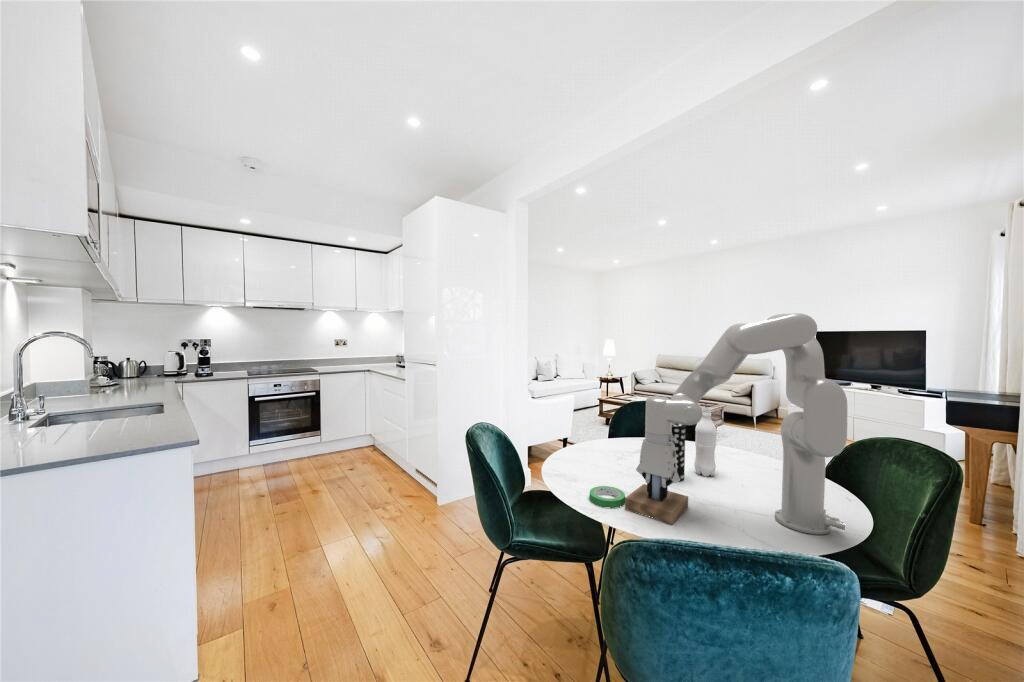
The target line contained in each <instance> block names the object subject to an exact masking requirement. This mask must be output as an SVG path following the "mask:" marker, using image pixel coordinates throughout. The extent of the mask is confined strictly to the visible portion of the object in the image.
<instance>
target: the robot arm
mask: <svg viewBox="0 0 1024 682" xmlns="http://www.w3.org/2000/svg"><path fill="white" fill-rule="evenodd" d="M817 332H818V325H817V323H816V321H815V319H814V318H812V317H811V316H810V315H808V314H805V313H800V312H799V313H797V312H795V313H781V314H780V313H779V314H774V315H771V316H770V317H768V318H767V319H766V320H760V321H757V322H751V323H748V322H747V323H735V324H733V325H730V326H729V327H728V328H727V329H726V330H725V331H724V332H723V334H722V335H721V336H720V338H719V339H718V340H717V341H716V343H715V344H714V346H713V347H712V348H711V350H710V351H709V353H708V354H707V355H706V357H705V358H704V359H703V360H702V361H701V363H700V364H699V365H698V366H697V367H696V368H695V369H694V370H693V371H692V372H691V373H689V375H688V376H686V378H685V379H684V380H683V381H682V382H681V383H680V385H679V386H678V388H676V390H675V392H674V393H673V394H672V396H671V398H669V397H666V396H660V395H659V396H658V395H657V396H656V395H651V396H648V397H647V398H646V400H645V416H644V417H645V422H644V425H645V429H644V432H645V433H644V439H643V440H642V443H641V448H640V454H639V463H638V466H637V467H636V470H635V471H636V472H637V473H638V474H640V475H641V476H642V478H643V479H644V480H645V483H646V485H647V492H648V496H649V497H651V496H652V475H656V476H660V477H661V479H662V486H661V487H660V500H662V501H663V500H664V499H665V498H666V497H667V491H669V490H668V488H669V486H670V485H672V484H676V483H680V482H679V481H680V478H679V475H678V473H677V458H676V450H675V445H674V443H671V442H673V441H675V442H676V437H674V436H673V435H672V422H673V423H678V424H683V425H685V426H694V425H697V424H698V422H699V421H700V420H701V419H702V415H703V412H702V407H701V405H700V404H699V402H700V401H701V399H703V397H704V396H705V395H706V394H707V393H708V392H709V391H711V390H712V389H714V388H715V387H718V386H720V385H723V384H724V383H727V382H728V381H729V380H730V379H731V377H732V376H733V375H734V374H735V373H736V371H737V370H738V368H739V367H740V366H741V364H742V363H743V362H744V361H745V360H746V358H747V356H749V355H759V354H766V353H771V352H772V353H773V352H775V351H782V352H783V353H784V357H785V364H786V365H785V368H786V369H785V395H786V398H787V400H788V401H789V402H790V403H791V404H792V405H793V406H796V407H798V408H800V409H803V410H802V411H794V412H793V411H792V412H790V413H788V414H787V415H786V416H785V417H784V418H783V420H782V422H781V425H780V435H781V443H782V481H781V508H780V509H777V510H775V512H774V518H775V520H776V521H777V522H779V523H780V524H781V525H783V526H784V527H787V528H788V529H791V530H794V531H796V532H797V531H798V532H801V533H805V534H810V535H827V534H828V533H830V532H831V529H832V528H831V527H833V528H836V529H839V530H843V531H846V522H843V521H841V520H840V518H838V517H833V516H829V514H826V512H827V510H826V509H825V490H826V488H825V486H826V484H825V483H826V458H833V457H835V456H838V455H840V454H841V453H842V452H843V451H844V449H845V447H846V444H847V439H848V399H847V395H846V392H845V391H844V389H843V388H842V386H841V385H840V384H839V383H837V382H835V381H834V380H832V379H829V378H826V374H825V372H826V371H825V359H824V352H823V348H822V347H821V344H820V342H819V341H818V340H817V338H816V335H817ZM672 476H673V478H672ZM669 478H670V479H669Z"/></svg>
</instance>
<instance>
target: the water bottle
mask: <svg viewBox="0 0 1024 682" xmlns="http://www.w3.org/2000/svg"><path fill="white" fill-rule="evenodd" d="M701 409H702V412H703V415H702V419H701V420H700V421H699V422H698V423H697V424H695V430H694V431H695V435H694V437H695V438H694V439H695V441H694V443H695V458H694V463H693V464H694V465H693V466H694V470H695V472H696V474H697V475H701V474H702V476H703V477H709V476H710V475H711V476H710V477H712V476H714V475H715V472H716V467H717V466H716V460H715V454H716V453H715V451H716V446H717V445H716V444H717V428H716V426H715V424H714V422H713V419H712V413H711V412H712V409H711V408H708V407H701Z"/></svg>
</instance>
